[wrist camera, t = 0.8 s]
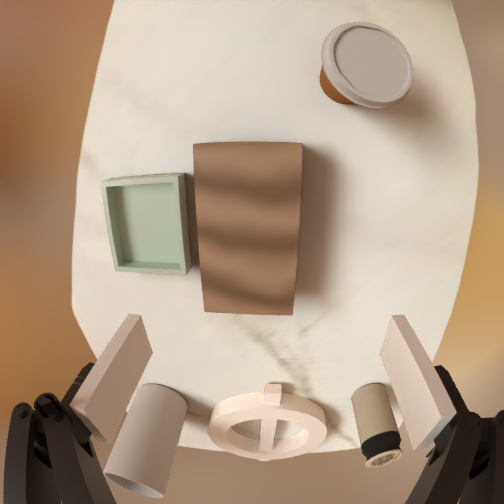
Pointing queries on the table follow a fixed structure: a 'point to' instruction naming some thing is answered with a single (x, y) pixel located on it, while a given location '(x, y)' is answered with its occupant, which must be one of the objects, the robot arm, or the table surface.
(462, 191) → the table surface
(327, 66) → the disposable coffee cup
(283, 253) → the walnut overhang
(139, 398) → the cylinder vase
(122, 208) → the green tray
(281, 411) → the ring with crossbar
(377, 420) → the travel mug
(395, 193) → the table surface
